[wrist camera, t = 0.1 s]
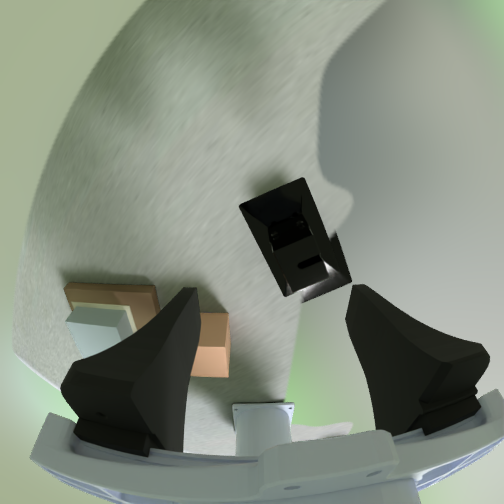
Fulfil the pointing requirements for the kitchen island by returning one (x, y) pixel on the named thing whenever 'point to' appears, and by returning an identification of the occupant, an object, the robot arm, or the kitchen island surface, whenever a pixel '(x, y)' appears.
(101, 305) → the build board
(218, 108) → the kitchen island surface
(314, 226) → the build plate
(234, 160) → the kitchen island surface
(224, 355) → the top block
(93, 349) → the base block
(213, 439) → the kitchen island surface
